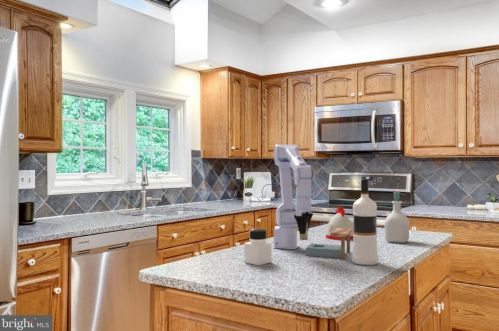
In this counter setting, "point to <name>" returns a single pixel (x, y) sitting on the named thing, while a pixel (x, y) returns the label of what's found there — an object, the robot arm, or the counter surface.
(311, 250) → the socket block
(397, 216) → the soap bottle
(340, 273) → the counter surface
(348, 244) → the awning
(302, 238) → the birch peg
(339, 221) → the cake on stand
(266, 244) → the medicine bottle
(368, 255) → the vodka
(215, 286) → the counter surface
